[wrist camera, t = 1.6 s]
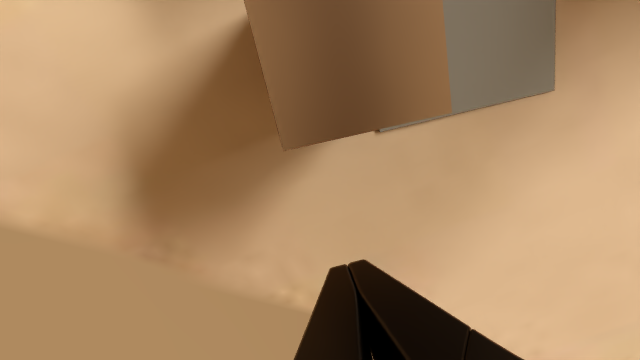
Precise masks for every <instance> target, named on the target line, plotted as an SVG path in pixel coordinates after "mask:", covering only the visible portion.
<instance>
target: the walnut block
mask: <svg viewBox="0 0 640 360" xmlns="http://www.w3.org/2000/svg"><path fill="white" fill-rule="evenodd" d="M244 3H245V7H246V10H247V14H248V18H249V22H250V26H251V30H252V33H253V37H254V41H255V45H256V49H257V52H258V56H259V60H260V64H261V68H262V71H263V75H264V79H265V83H266V87H267V90H268V94H269V98H270V102H271V106H272V109H273V113H274V117H275V121H276V125H277V129H278V132H279V136H280V140H281V144H282V148H283V151H286V150H291V149H295V148H300V147H304V146H309V145H313V144H317V143H322V142H326V141H331V140H335V139H339V138H344V137H348V136H353V135H357V134H361V133H366V132H370V131H375V130H379V129H383V128H388V127H392V126H397V125H401V124H406V123H410V122H414V121H419V120H423V119H428V118H432V117H436V116H441V115H445V114H450V113H452V106H451V94H450V82H449V71H448V59H447V47H446V36H445V24H444V12H443V1H442V0H244Z"/></svg>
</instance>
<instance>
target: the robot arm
mask: <svg viewBox="0 0 640 360" xmlns="http://www.w3.org/2000/svg"><path fill="white" fill-rule="evenodd" d="M371 353H372V354H371ZM372 356H373V358H372ZM373 359H374V360H524V359H522V358H520V357H518V356H517V355H515V354H513V353H512V352H510V351H508V350H507V349H505V348H503V347H502V346H500V345H498V344H497V343H495V342H493V341H492V340H490V339H488V338H487V337H485V336H484V335H482V334H481V333H479V332H478V331H476V330H474V329H472V330H471V328H470V327H469V326H468V325H466V324H465V323H463V322H462V321H460V320H459V319H457V318H455V317H454V316H452V315H451V314H449V313H448V312H446V311H445V310H443V309H441V308H440V307H438V306H437V305H435V304H434V303H432V302H430V301H429V300H427V299H426V298H424V297H423V296H421V295H420V294H418V293H416V292H415V291H413V290H412V289H410V288H409V287H407V286H406V285H404V284H402V283H401V282H399V281H398V280H396V279H395V278H393V277H392V276H390V275H388V274H387V273H385V272H384V271H382V270H381V269H379V268H377V267H376V266H374V265H373V264H371V263H370V262H368V261H367V260H364V259H363V260H359V261H355V262H351V263H349V264H348V266H347V265H345V264H344V265H340V266H336V267H332V268H330V270H329V272H328V275H327V277H326V280H325V282H324V285H323V287H322V290H321V292H320V295H319V297H318V300H317V302H316V305H315V307H314V310H313V312H312V315H311V317H310V320H309V322H308V325H307V327H306V330H305V332H304V335H303V338H302V340H301V343H300V345H299V348H298V350H297V353H296V355H295V358H294V360H373Z"/></svg>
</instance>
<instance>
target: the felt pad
mask: <svg viewBox="0 0 640 360" xmlns="http://www.w3.org/2000/svg"><path fill="white" fill-rule="evenodd" d="M442 1H443V12H444V24H445V36H446V47H447V59H448V71H449V82H450V94H451V106H452V113H450V114H445V115H441V116H436V117H432V118H428V119H423V120H419V121H414V122H410V123H406V124H401V125H397V126H392V127H388V128H383V129H379V131H380V132H383V131H387V130H391V129H395V128H399V127H404V126H408V125H412V124H416V123H420V122H424V121H429V120H433V119H437V118H441V117H445V116H450V115H454V114H458V113H462V112H466V111H470V110H475V109H479V108H483V107H487V106H491V105H495V104H500V103H504V102H508V101H512V100H516V99H521V98H525V97H529V96H533V95H537V94H541V93H546V92H550V91H554V84H555V20H556V0H442Z"/></svg>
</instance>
